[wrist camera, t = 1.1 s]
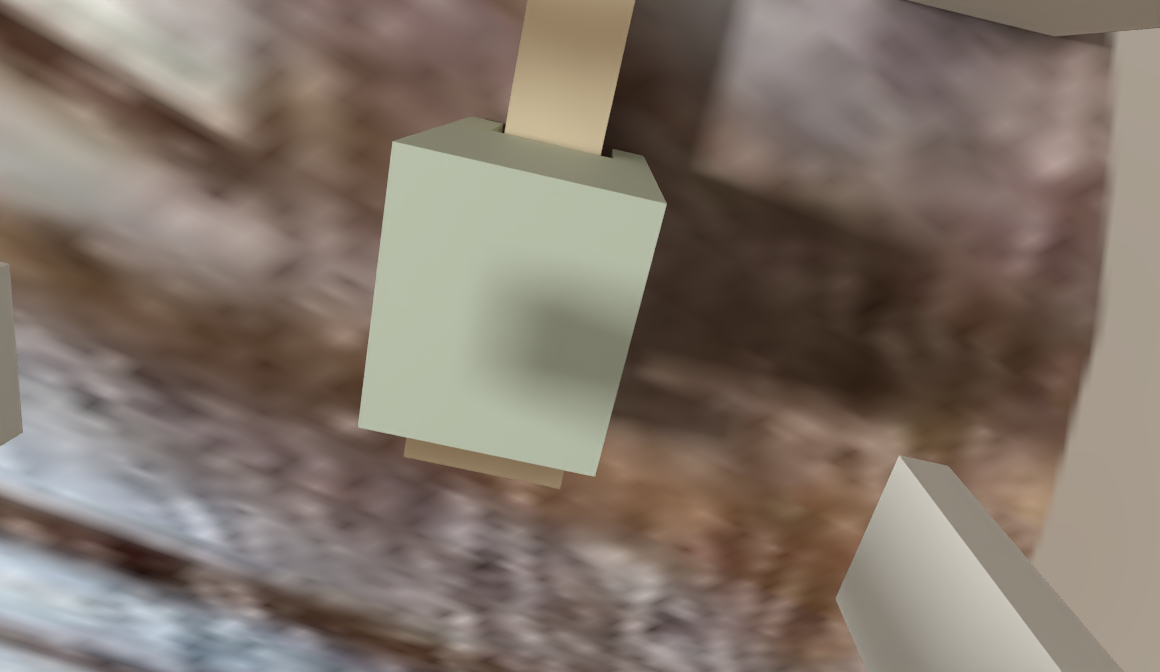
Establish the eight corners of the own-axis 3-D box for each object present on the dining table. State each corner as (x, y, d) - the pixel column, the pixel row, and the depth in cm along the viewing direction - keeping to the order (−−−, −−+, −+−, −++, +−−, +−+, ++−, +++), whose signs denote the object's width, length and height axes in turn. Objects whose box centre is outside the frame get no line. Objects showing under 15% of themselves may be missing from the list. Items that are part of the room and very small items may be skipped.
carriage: (597, 341, 27) (594, 476, 18) (441, 307, 26) (357, 427, 17) (643, 156, 24) (666, 203, 15) (471, 116, 24) (392, 141, 15)
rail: (568, 405, 28) (559, 488, 22) (444, 378, 28) (403, 456, 22) (772, -449, 19) (844, -672, 13) (589, -499, 19) (583, -748, 13)
